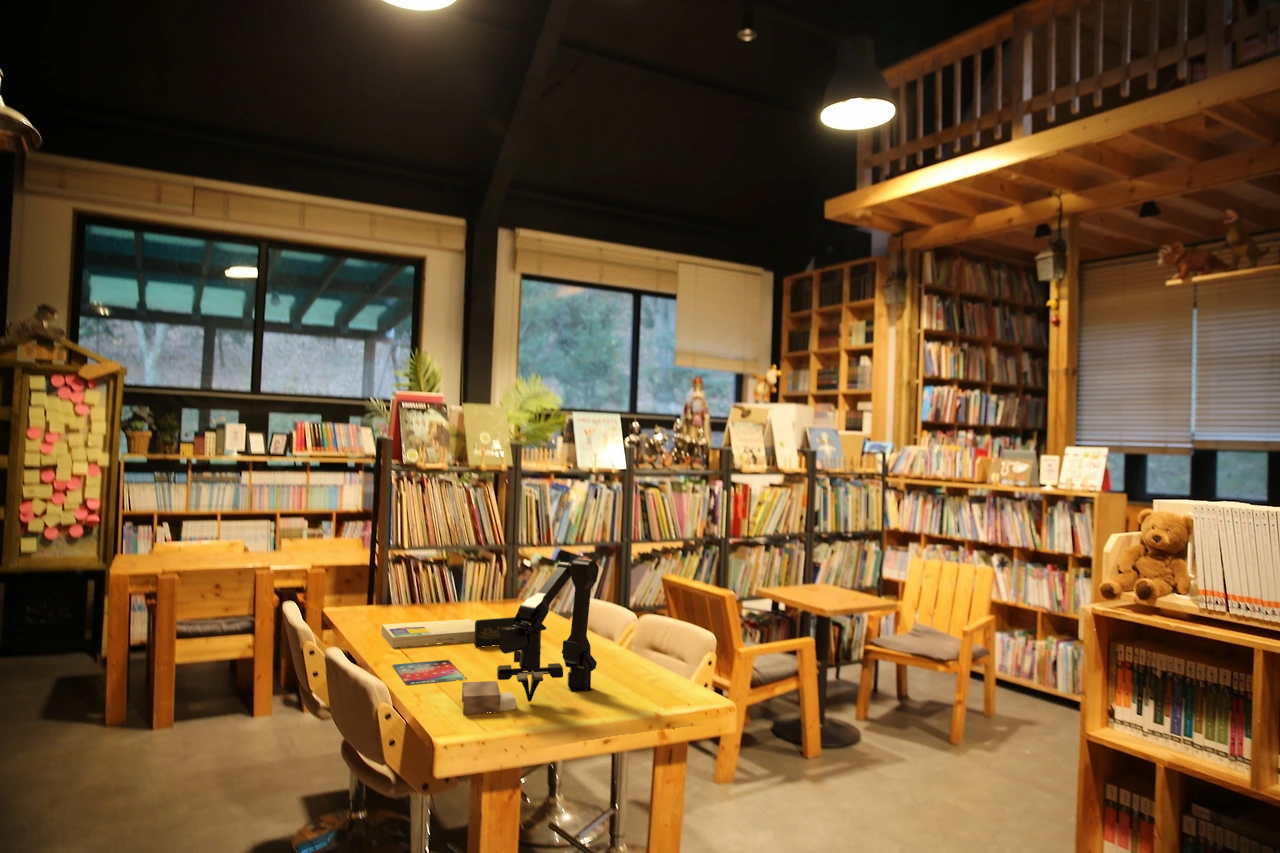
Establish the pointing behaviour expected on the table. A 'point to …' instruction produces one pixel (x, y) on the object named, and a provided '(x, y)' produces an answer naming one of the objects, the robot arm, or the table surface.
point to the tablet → (428, 672)
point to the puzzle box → (428, 632)
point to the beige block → (507, 701)
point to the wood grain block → (480, 697)
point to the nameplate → (491, 630)
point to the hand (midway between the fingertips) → (529, 701)
